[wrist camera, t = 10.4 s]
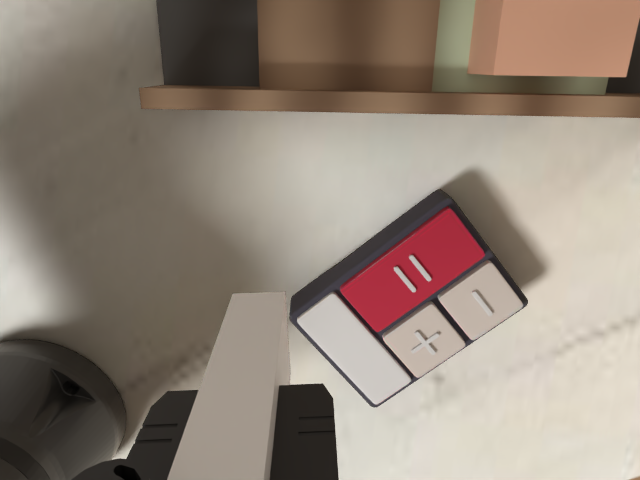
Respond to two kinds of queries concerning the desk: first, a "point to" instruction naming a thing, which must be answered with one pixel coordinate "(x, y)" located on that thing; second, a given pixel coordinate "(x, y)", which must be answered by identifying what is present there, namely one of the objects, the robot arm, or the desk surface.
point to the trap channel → (356, 62)
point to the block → (553, 37)
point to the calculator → (406, 300)
